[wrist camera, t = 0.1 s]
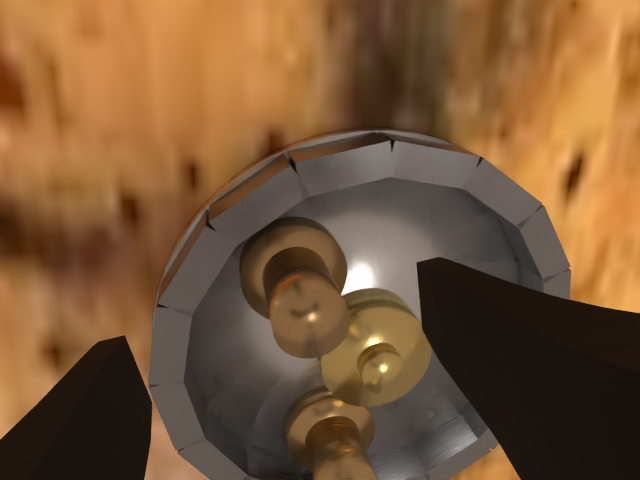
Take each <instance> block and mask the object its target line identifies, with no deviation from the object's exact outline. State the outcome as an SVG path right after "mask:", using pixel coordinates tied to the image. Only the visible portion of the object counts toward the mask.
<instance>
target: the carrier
mask: <svg viewBox="0 0 640 480" xmlns="http://www.w3.org/2000/svg"><path fill="white" fill-rule="evenodd" d="M541 204H542V203H541V202H540V201H538V200H537V199H536V198H535V197H533V196H532V195H531V194H529V193H528V192H527V191H525V190H524V189H523V188H522V187H520V186H519V185H518V184H516V183H515V182H514V181H513V180H511V179H510V178H509V177H507V176H506V175H505V174H503V173H502V172H501V171H500V170H498V169H497V168H496V167H494V166H493V165H492V164H491V163H489V162H488V161H487V160H485V159H484V158H482V157H480V156H478V155H476V154H473V153H471V152H469V151H467V150H465V149H462V148H460V147H458V146H456V145H453V144H451V143H449V142H446V141H444V140H442V139H440V138H437V137H433V136H429V135H426V134H422V133H418V132H415V131H409V130H401V129H392V128H354V129H348V130H341V131H335V132H329V133H324V134H321V135H317V136H314V137H311V138H307V139H304V140H301V141H297V142H295V143H293V144H290V145H288V146H286V147H284V148H281V149H279V150H277V151H275V152H272V153H270V154H268V155H266V156H265V157H263V158H262V159H260V160H258V161H257V162H255V163H253V164H252V165H250V166H249V167H247V168H245V169H244V170H242V171H241V172H239V173H238V174H237V175H236V176H235V177H233V178H232V179H231V180H230V181H228V182H227V183H226V184H225V185H223V186H222V187H221V188H220V189H218V190H217V191H216V193H215V194H214V195H213V196H212V197H211V198H210V199H209V200H208V201H207V202H206V203H205V204H204V205H203V206H202V207H201V208H200V209H199V211H198V212H197V213H196V214H195V216H194V217H193V219H192V220H191V221H190V223H189V224H188V226H187V227H186V228H185V230H184V231H183V233H182V234H181V235H180V237H179V239H178V241H177V243H176V245H175V247H174V249H173V251H172V253H171V255H170V256H169V258H168V260H167V263H166V266H165V269H164V272H163V275H162V278H161V281H160V284H159V287H158V292H157V297H156V302H155V308H154V314H153V319H152V351H151V361H150V371H149V381H148V384H149V390H150V392H151V394H152V397H153V399H154V401H155V404H156V406H157V408H158V411H159V413H160V415H161V418H162V420H163V422H164V425H165V427H166V429H167V432H168V434H169V436H170V439H171V441H172V443H173V446H174V448H175V450H178V454H179V455H181V456H182V457H183V458H184V459H185V460H187V461H188V462H189V463H190V464H192V465H193V466H194V467H195V468H197V469H198V470H199V471H200V472H201V473H203V474H204V475H205V476H206V477H208V478H209V479H210V480H448V479H449V478H451V477H453V476H454V475H456V474H457V473H459V472H460V471H462V470H463V469H465V468H466V467H468V466H470V465H471V464H473V463H474V462H476V461H477V460H479V459H480V458H482V457H483V456H485V455H487V454H488V453H490V452H491V451H490V450H489V448H492V449H494V448H495V447H496V446H497V445H498V444H499V442H498V441H497V439H496V438H495V436H494V435H493V434H492V432H491V431H490V429H489V428H488V426H487V425H486V424H485V422H484V421H483V420H482V418H481V417H480V416H479V414H478V413H477V412H476V410H475V409H474V408H473V406H472V405H471V404H470V402H469V401H468V400H467V398H466V397H465V396H464V394H463V393H462V392H461V390H460V389H459V388H458V386H457V385H456V383H455V382H454V381H453V379H452V378H451V377H450V375H449V374H448V373H447V371H446V370H445V368H444V367H443V366H442V364H441V363H440V361H439V360H438V358H437V356H436V354H435V353H434V351H433V349H432V347H431V345H430V344H429V342H428V340H427V338H426V336H425V334H424V332H423V330H422V322H421V311H420V299H419V288H418V276H417V264H416V262H420V261H424V260H428V259H432V258H436V257H442V258H446V259H449V260H452V261H455V262H457V263H460V264H463V265H466V266H468V267H471V268H474V269H476V270H479V271H481V272H484V273H487V274H489V275H492V276H495V277H498V278H500V279H503V280H506V281H509V282H512V283H515V284H518V285H521V286H524V287H527V288H530V289H533V290H536V291H540V292H543V293H546V294H550V295H553V296H557V297H561V298H564V299H568V300H569V299H570V279H571V270H570V269H569V267H570V264H569V262H568V260H567V257H566V255H565V253H564V250H563V248H562V246H561V243H560V241H559V239H558V237H557V234H556V232H555V230H554V227H553V225H552V223H551V220H550V218H549V216H548V213H547V211H546V209H545V206H543V205H541ZM488 447H489V448H488Z"/></svg>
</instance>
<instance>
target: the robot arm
mask: <svg viewBox="0 0 640 480" xmlns="http://www.w3.org/2000/svg"><path fill="white" fill-rule="evenodd" d="M416 264H417V276H418V288H419V299H420V311H421V322H422V330H423V332H424V334H425V336H426V338H427V340H428V342H429V344H430V345H431V347H432V349H433V351H434V353H435V354H436V356H437V358H438V360H439V361H440V363H441V364H442V366H443V367H444V368H445V370H446V371H447V373H448V374H449V375H450V377H451V378H452V379H453V381H454V382H455V383H456V385H457V386H458V388H459V389H460V390H461V392H462V393H463V394H464V396H465V397H466V398H467V400H468V401H469V402H470V404H471V405H472V406H473V408H474V409H475V410H476V412H477V413H478V414H479V416H480V417H481V418H482V420H483V421H484V422H485V424H486V425H487V426H488V428H489V429H490V431H491V432H492V434H493V435H494V436H495V438H496V439H497V441H498V442H499V444H500V445H501V447H502V448H503V450H504V452H505V454H506V455H507V457H508V459H509V460H510V462H511V464H512V465H513V467H514V469H515V470H516V472H517V474H518V475H519V477H520V479H521V480H640V313H634V312H628V311H621V310H615V309H610V308H605V307H599V306H595V305H590V304H586V303H581V302H577V301H573V300H568V299H564V298H561V297H557V296H553V295H550V294H546V293H543V292H540V291H536V290H533V289H530V288H527V287H524V286H521V285H518V284H515V283H512V282H509V281H506V280H503V279H500V278H498V277H495V276H492V275H489V274H487V273H484V272H481V271H479V270H476V269H474V268H471V267H468V266H466V265H463V264H460V263H457V262H455V261H452V260H449V259H446V258H442V257H436V258H432V259H428V260H424V261H420V262H416ZM151 421H152V401H151V399H150V396H149V394H148V391H147V389H146V386H145V384H144V382H143V379H142V377H141V374H140V372H139V369H138V367H137V364H136V362H135V359H134V357H133V354H132V352H131V350H130V347H129V345H128V342H127V340H126V337H125V335H124V336H120V337H116V338H112V339H108V340H104V341H100V342H97V343H96V344H95V345H94V346H93V347H92V348H91V349H90V350H89V351H88V352H87V353H86V354H85V355H84V356H83V357H82V358H81V359H80V360H79V361H78V362H77V363H76V364H75V365H74V366H73V367H72V368H71V369H70V370H69V372H68V373H67V374H66V375H65V376H64V377H63V378H62V379H61V380H60V381H59V382H58V383H57V384H56V385H55V386H54V387H53V388H52V389H51V390H50V391H49V392H48V393H47V395H46V396H45V397H44V398H43V399H42V400H41V401H40V402H39V403H38V404H37V405H36V406H35V407H34V408H33V409H32V410H31V411H30V412H29V413H27V414H26V415H25V416H24V417H23V418H22V419H21V420H20V421H19V422H18V423H17V424H16V425H15V426H14V427H13V428H12V429H11V430H10V431H9V432H8V433H7V434H6V435H5V436H4V437H3V438H2V439H0V480H144V477H145V472H146V466H147V460H148V454H149V448H150V442H151Z"/></svg>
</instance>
